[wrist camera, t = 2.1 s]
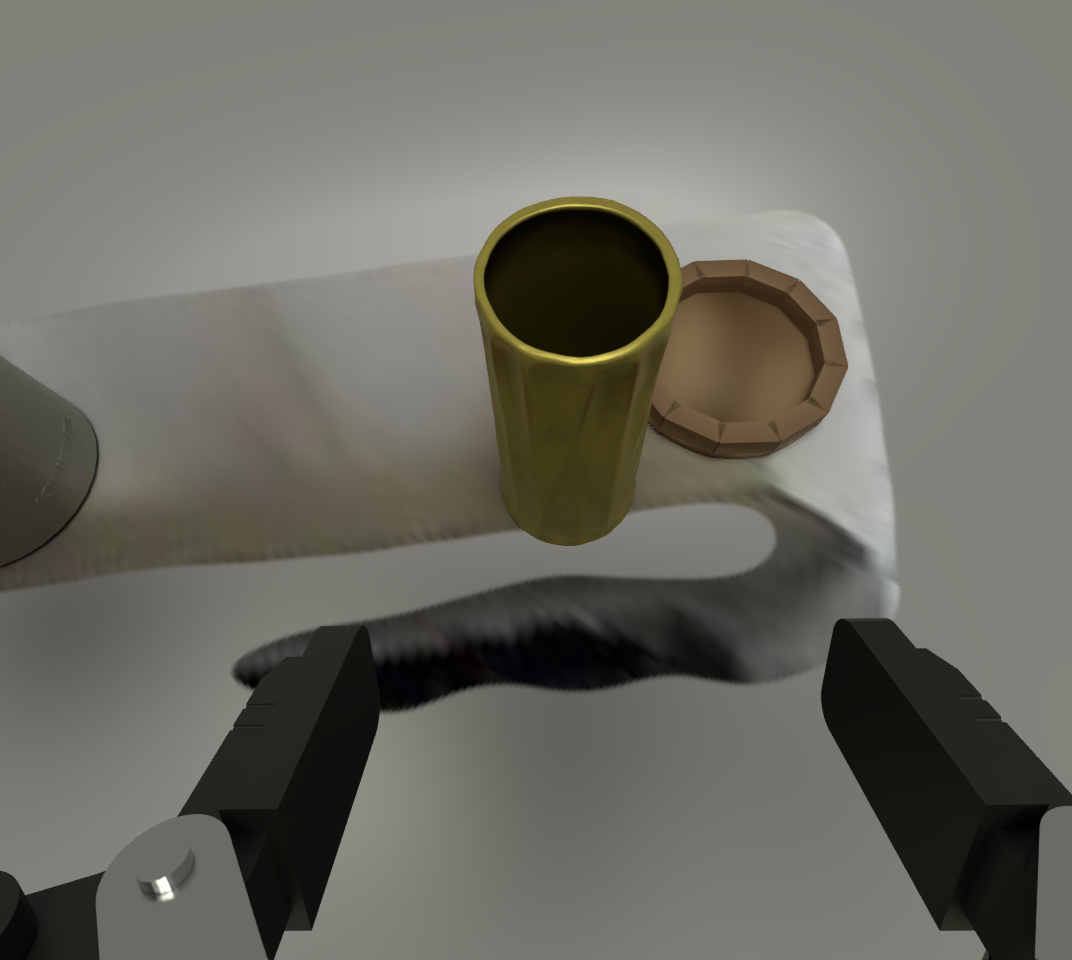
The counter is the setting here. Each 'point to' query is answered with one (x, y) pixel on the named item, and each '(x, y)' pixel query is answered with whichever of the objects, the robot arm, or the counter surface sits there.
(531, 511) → the vase
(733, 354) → the round tray
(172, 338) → the counter surface
